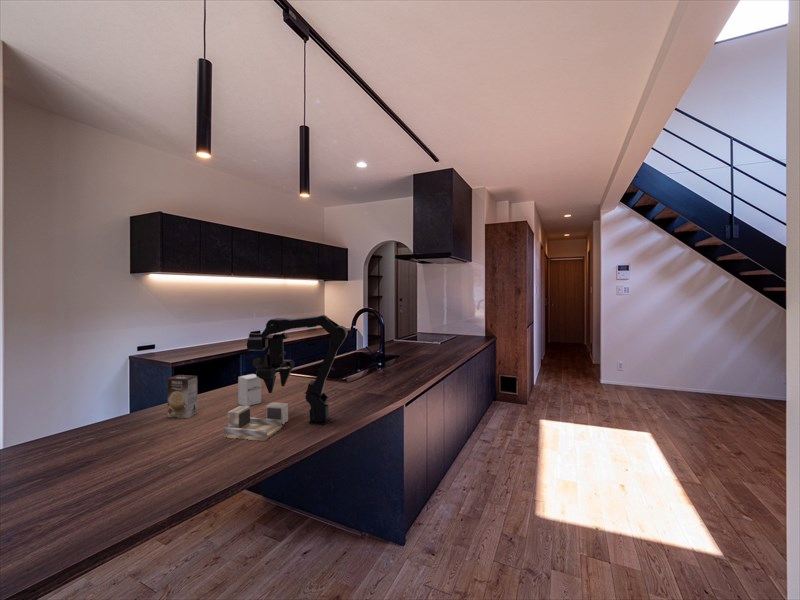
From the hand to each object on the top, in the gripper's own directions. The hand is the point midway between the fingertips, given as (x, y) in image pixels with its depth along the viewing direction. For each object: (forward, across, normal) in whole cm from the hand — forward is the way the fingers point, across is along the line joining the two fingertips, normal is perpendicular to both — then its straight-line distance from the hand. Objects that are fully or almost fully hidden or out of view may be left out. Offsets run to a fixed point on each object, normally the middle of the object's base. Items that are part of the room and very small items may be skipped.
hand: (276, 389), depth 137 cm
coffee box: (+12, +2, -42) cm, 44 cm away
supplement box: (+13, -17, -24) cm, 32 cm away
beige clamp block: (+13, +11, -3) cm, 17 cm away
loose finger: (+13, 0, 0) cm, 13 cm away
